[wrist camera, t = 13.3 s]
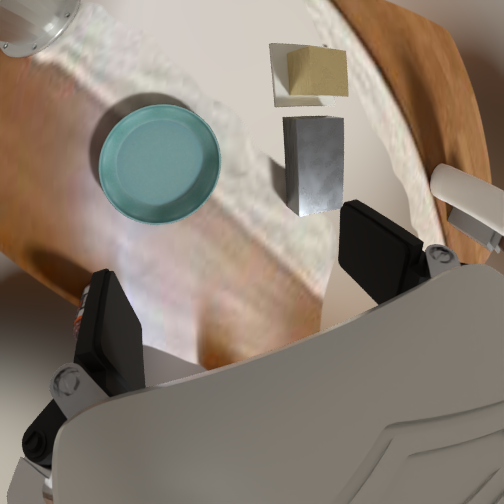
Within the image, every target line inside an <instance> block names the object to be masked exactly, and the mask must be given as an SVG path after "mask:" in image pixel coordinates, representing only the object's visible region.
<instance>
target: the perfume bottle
mask: <svg viewBox="0 0 504 504" xmlns="http://www.w3.org/2000/svg"><path fill="white" fill-rule="evenodd" d="M447 221H448V222H449V223H450V224H451V225H452V226H453V227H454V228H456V229H457V230H459V231H460V232H462V233H464V234H465V235H467V236H468V237H470V238H471V239H473V240H474V241H476V242H477V243H479V244H480V245H482V246H483V247H485V248H486V249H487V250H489V251H490V252H492V250H493V248H494V249H495V250H496V251H497V252H498V253H499V252H500V250H503V251H504V236H503V235H501V234H500V233H498V232H497V231H495V230H493V229H492V228H490V227H489V226H487V225H485V224H484V223H482V222H481V221H479V220H477V219H476V218H474V217H472V216H470V215H469V214H467V213H465V212H463V211H462V210H460V209H458V208H456V207H453V209H452V211H451V213H450V215H449V217H448V220H447Z"/></svg>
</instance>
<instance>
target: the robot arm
mask: <svg viewBox="0 0 504 504" xmlns="http://www.w3.org/2000/svg"><path fill="white" fill-rule="evenodd" d="M79 5H80V0H0V48H1V50H2V52H3V53H5V54H6V55H8V56H10V57H15V58H24V57H28V56H31V55H34V54H36V53H38V52H40V51H41V50H43V49H45V48H46V47H48V46H49V45H50V44H51V43H53V42H54V41H55V40H56V39H57V38H58V37H59V36H60V35H61V34H62V33H63V32H64V31H65V30H66V28H67V27H68V26H69V24H70V23H71V21H72V20H73V18H74V16H75V15H76V13H77V11H78V8H79ZM69 15H70V16H69ZM68 16H69V17H68ZM35 48H36V49H35ZM423 243H424V242H423V241H421V240H420V239H418V238H417V237H415V236H414V235H413V234H411V233H410V232H408V231H407V230H405V229H404V228H402V227H401V226H399V225H397V224H396V223H394V222H393V221H391V220H390V219H388V218H387V217H385V216H383V215H382V214H380V213H378V212H377V211H375V210H374V209H372V208H370V207H369V206H367V205H365V204H364V203H362V202H360V201H359V200H352V201H348V202H345V203H344V204H343V206H342V207H341V210H340V236H339V256H338V261H339V264H340V266H341V267H342V268H343V269H344V270H345V271H346V272H347V273H348V274H349V275H350V276H351V277H352V278H353V279H354V280H355V281H356V282H357V283H358V284H359V285H360V286H361V287H362V288H363V289H364V290H365V291H366V292H367V294H368V295H369V296H370V297H372V299H373V300H374V301H375V302H376V303H377V304H378V306H376V307H374V308H372V309H370V310H367V311H365V312H364V313H361V314H359V315H357V316H355V317H352V318H350V319H348V320H346V321H343V322H341V323H339V324H337V325H334V326H332V327H330V328H327V329H325V330H323V331H320V332H318V333H315V334H313V335H310V336H308V337H305V338H303V339H300V340H298V341H295V342H292V343H290V344H287V345H284V346H282V347H279V348H276V349H274V350H271V351H268V352H265V353H262V354H260V355H257V356H254V357H251V358H248V359H245V360H242V361H239V362H236V363H233V364H230V365H226V366H223V367H220V368H217V369H213V370H210V371H206V372H203V373H200V374H196V375H192V376H189V377H185V378H182V379H178V380H174V381H171V382H167V383H163V384H159V385H155V386H151V387H147V388H146V387H145V376H144V364H143V345H142V327H141V324H140V321H139V319H138V318H137V316H136V314H135V312H134V310H133V308H132V306H131V305H130V303H129V301H128V299H127V297H126V295H125V293H124V291H123V289H122V287H121V285H120V283H119V281H118V279H117V277H116V275H115V273H114V271H109V270H108V269H103V270H100V271H97V272H94V273H93V276H92V279H91V283H90V287H89V291H88V295H87V299H86V303H85V307H84V312H83V314H82V318H81V323H80V328H79V333H78V338H77V344H76V351H75V356H74V363H68V364H65V365H63V366H61V367H60V368H59V369H58V370H57V371H56V372H55V373H54V375H53V376H52V379H51V382H50V392H51V395H52V397H53V400H52V401H51V402H50V403H49V404H48V405H47V406H46V407H45V409H44V410H43V411H42V412H41V413H40V414H39V416H38V417H37V418H36V419H35V420H34V421H33V423H32V424H31V425H30V426H29V427H28V429H27V430H26V432H25V433H24V436H23V439H22V448H23V452H24V454H25V458H22V457H20V460H19V462H18V465H17V467H16V470H15V472H14V475H13V478H12V481H11V483H10V486H9V489H8V492H7V502H8V504H504V276H503V275H502V274H501V273H499V272H498V271H496V270H495V269H493V268H492V267H490V266H487V265H484V264H465V263H460V262H459V259H458V257H457V255H456V253H455V252H454V251H453V250H451V249H450V248H448V247H446V246H443V245H438V244H434V245H430V246H428V247H427V248H426V250H425V252H424V251H423V250H422V247H423Z"/></svg>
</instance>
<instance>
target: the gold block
mask: <svg viewBox="0 0 504 504" xmlns="http://www.w3.org/2000/svg"><path fill="white" fill-rule="evenodd" d="M287 66H288V80H289V95H312V96H347V97H348V76H347V60H346V51H342V50H336V49H330V48H323V47H315V46H307V47H304V48H301V49H298V50H295V51H292V52H289V53H287Z"/></svg>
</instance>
